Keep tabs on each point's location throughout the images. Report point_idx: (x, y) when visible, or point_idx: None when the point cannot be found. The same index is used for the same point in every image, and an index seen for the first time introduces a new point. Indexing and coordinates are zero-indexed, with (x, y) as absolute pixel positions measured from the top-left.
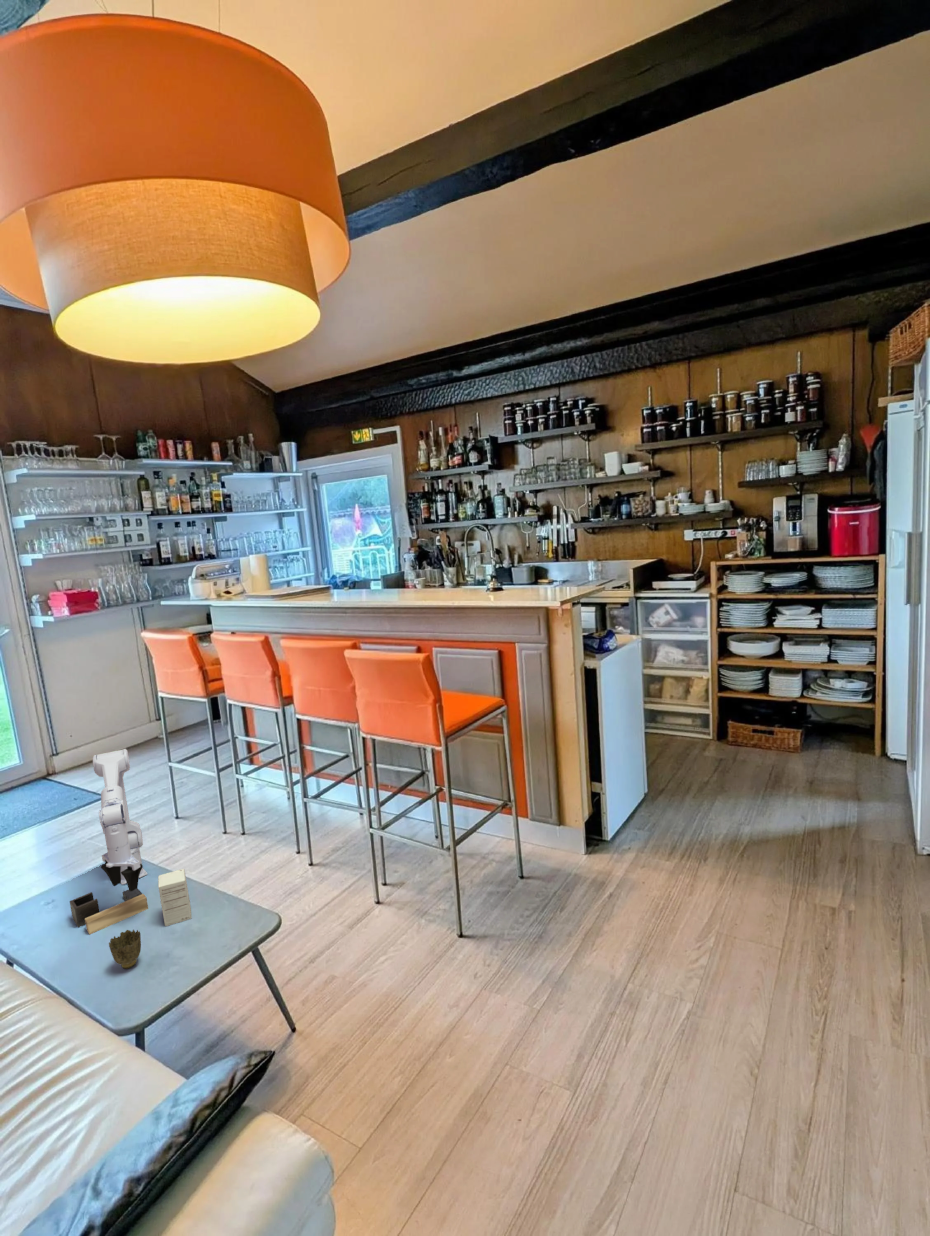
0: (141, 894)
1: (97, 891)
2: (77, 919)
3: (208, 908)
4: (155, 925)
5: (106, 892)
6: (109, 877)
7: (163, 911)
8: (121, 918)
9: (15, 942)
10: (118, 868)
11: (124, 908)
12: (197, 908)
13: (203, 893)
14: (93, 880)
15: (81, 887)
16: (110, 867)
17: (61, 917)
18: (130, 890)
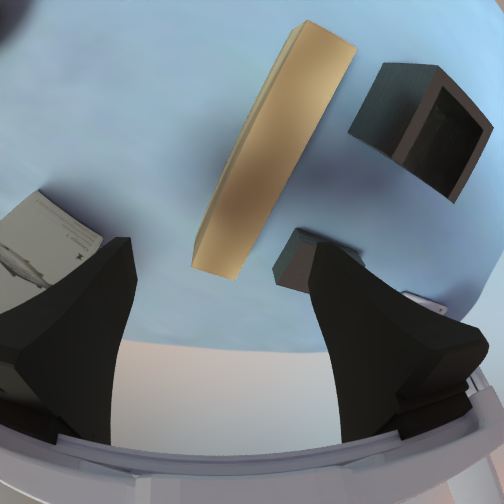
0: (276, 280)
1: (454, 248)
2: (402, 65)
3: None
4: (70, 179)
5: (428, 253)
6: (370, 280)
7: (2, 220)
8: (234, 146)
9: (490, 3)
10: (341, 375)
11: (227, 176)
12: None
13: None
14: (479, 275)
15: (493, 247)
16: (145, 478)
17: None
18: (112, 240)
